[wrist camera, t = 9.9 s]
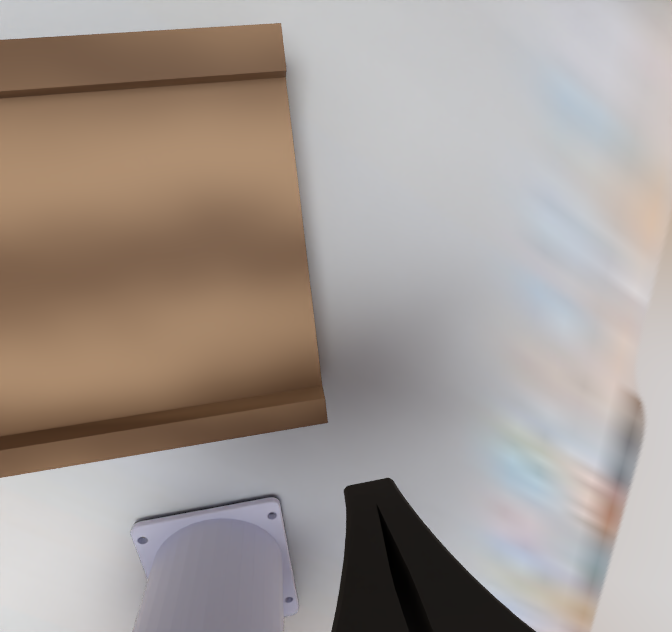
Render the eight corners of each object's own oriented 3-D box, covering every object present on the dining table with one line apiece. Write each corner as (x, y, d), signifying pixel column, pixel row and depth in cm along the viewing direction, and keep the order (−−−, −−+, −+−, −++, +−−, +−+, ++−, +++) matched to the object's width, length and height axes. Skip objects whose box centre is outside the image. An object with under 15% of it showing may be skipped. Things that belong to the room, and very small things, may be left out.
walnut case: (317, 376, 20) (327, 422, 17) (-21, 428, 19) (-93, 493, 15) (278, 57, 15) (280, 23, 12) (-190, 89, 14) (-362, 61, 10)
